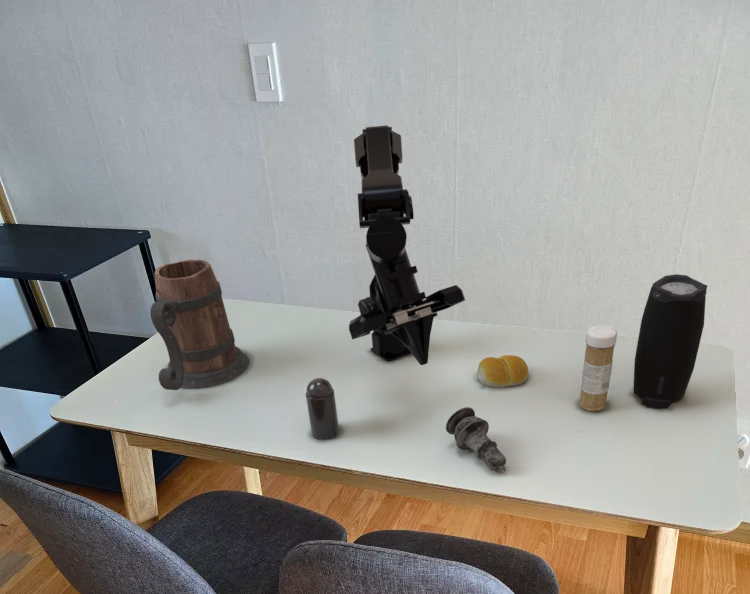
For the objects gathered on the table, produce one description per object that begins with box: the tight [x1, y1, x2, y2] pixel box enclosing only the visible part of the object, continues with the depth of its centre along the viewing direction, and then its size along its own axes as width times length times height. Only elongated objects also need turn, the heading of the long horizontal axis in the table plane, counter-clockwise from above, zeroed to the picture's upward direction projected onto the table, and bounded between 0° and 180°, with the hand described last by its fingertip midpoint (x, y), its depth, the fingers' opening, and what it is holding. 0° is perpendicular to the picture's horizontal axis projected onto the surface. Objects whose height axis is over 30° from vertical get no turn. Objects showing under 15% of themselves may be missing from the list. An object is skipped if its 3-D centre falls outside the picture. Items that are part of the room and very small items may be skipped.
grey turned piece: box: [445, 406, 507, 472], centre depth 106 cm, size 6×6×12 cm
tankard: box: [149, 259, 251, 391], centre depth 130 cm, size 24×17×20 cm
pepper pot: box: [305, 377, 340, 441], centre depth 113 cm, size 5×5×10 cm
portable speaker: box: [632, 273, 708, 410], centre depth 111 cm, size 9×9×20 cm
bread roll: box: [476, 354, 529, 388], centre depth 125 cm, size 8×9×4 cm
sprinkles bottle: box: [578, 325, 618, 412], centre depth 112 cm, size 5×5×13 cm
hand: (424, 364), depth 111 cm, fingers closed
